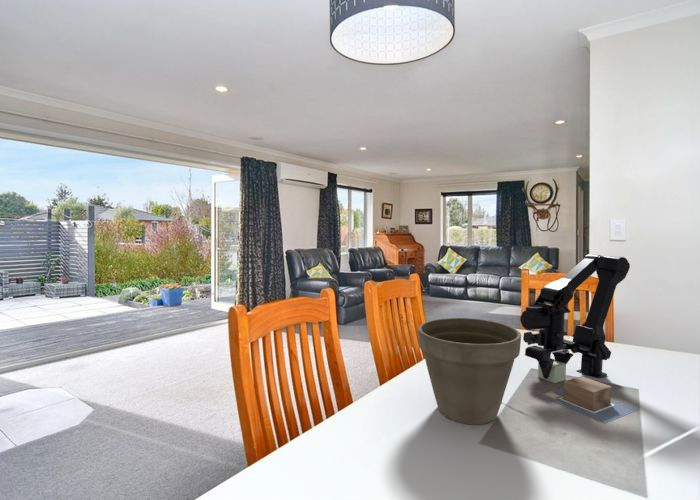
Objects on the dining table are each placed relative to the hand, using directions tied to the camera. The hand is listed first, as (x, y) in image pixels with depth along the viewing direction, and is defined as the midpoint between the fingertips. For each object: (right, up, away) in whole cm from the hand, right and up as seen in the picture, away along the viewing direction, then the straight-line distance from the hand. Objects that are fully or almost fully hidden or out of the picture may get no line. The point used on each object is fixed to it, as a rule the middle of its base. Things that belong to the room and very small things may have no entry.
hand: (551, 376), depth 123 cm
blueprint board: (+1, -2, -16) cm, 17 cm away
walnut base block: (+1, -2, -16) cm, 17 cm away
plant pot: (-33, -2, -21) cm, 39 cm away
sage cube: (0, -1, 0) cm, 1 cm away
